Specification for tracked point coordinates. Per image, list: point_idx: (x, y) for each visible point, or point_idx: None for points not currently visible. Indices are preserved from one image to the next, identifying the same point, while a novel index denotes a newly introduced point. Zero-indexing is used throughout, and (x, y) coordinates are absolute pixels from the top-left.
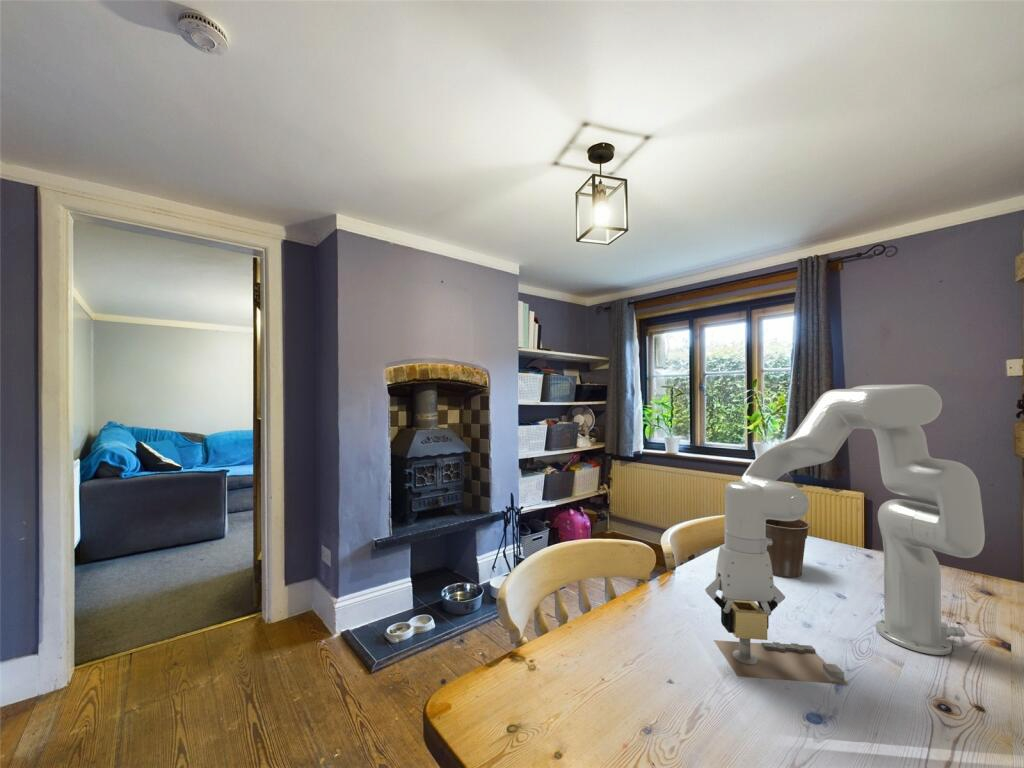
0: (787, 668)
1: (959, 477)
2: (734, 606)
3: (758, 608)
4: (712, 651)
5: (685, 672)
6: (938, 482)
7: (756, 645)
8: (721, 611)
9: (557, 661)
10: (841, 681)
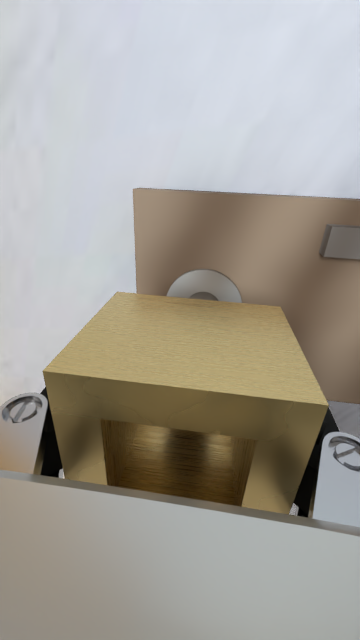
0: (316, 353)
1: None
2: (91, 479)
3: (266, 510)
4: (122, 228)
5: (22, 331)
6: None
7: (306, 219)
8: (44, 393)
9: None
10: None
